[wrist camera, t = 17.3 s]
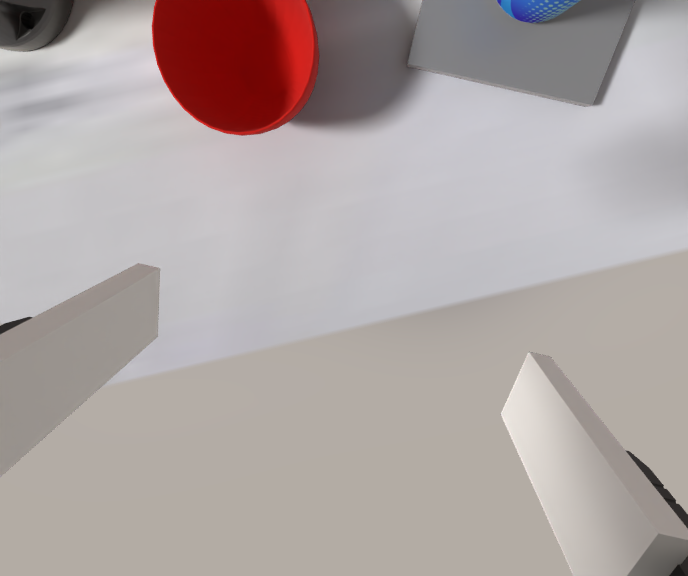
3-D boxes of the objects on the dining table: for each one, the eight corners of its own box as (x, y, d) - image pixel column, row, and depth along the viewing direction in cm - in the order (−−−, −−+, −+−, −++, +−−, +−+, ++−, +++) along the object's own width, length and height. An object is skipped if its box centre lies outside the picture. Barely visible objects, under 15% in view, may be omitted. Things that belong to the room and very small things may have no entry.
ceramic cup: (379, 7, 36) (380, -39, 27) (287, 161, 42) (262, 167, 33) (263, -88, 35) (221, -172, 25) (183, 86, 40) (125, 71, 31)
